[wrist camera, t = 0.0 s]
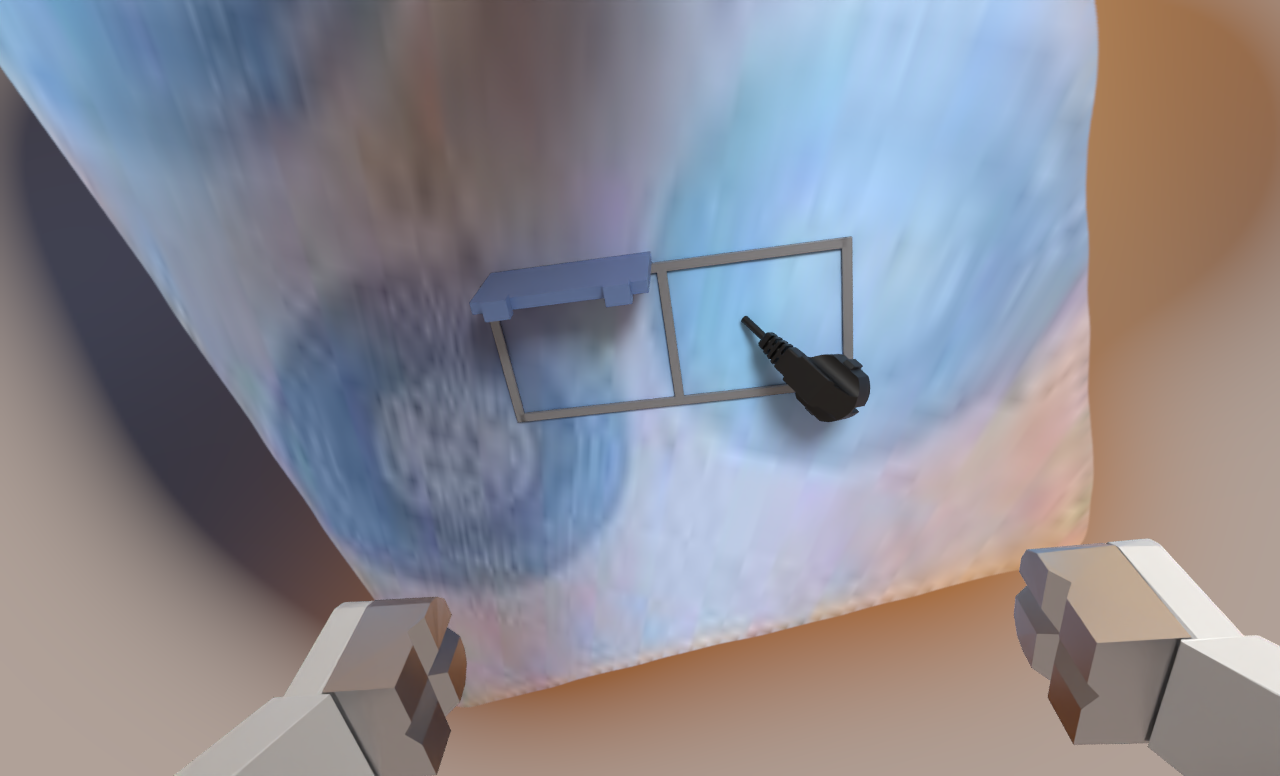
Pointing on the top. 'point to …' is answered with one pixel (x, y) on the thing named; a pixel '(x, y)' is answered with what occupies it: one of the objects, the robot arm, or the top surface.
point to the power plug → (817, 377)
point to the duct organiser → (617, 288)
